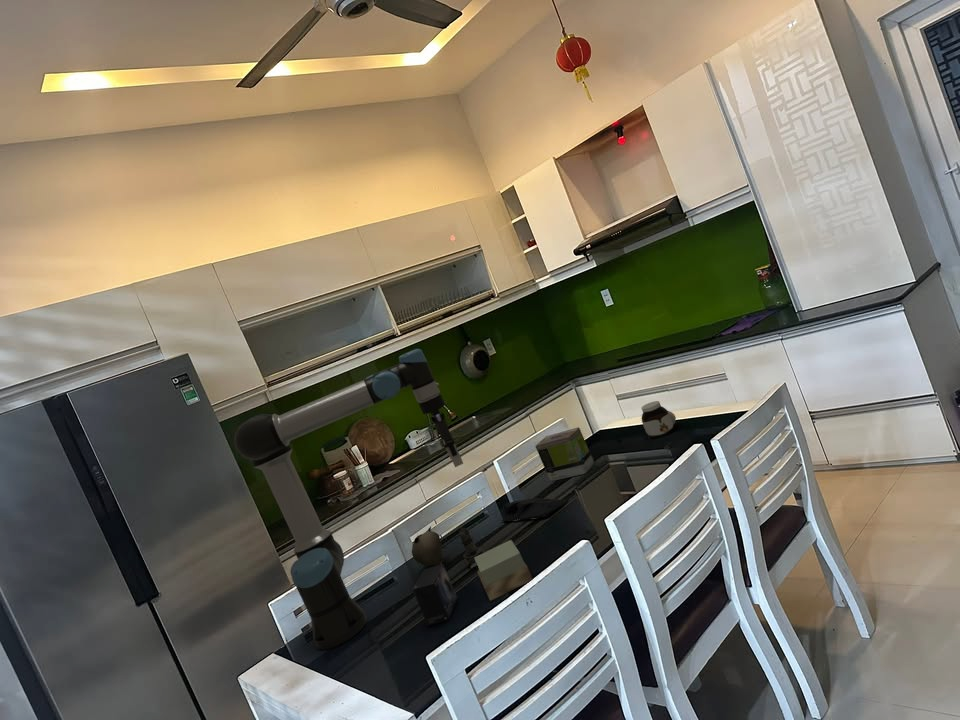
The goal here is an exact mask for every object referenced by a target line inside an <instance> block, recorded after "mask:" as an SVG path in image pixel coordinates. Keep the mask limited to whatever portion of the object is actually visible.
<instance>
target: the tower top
mask: <svg viewBox="0 0 960 720" xmlns="http://www.w3.org/2000/svg"><path fill="white" fill-rule="evenodd" d="M474 559H475V561H476V563H477V566H478V567H477V568H478V571H479V570H480V573H481V575H482V577H483V579H484V582H485V584H486V586H488V585H490V584H493V583H495V582H497V581H499V580H501V579H503V578H505V577H507V576H509V575H511V574H513V573H515V572H517V571H519V570H521V569H523V568H525V567H526V566H525V564H526V563H525V561H524V559H523V556H522V555H521V552H520V551H519V550H518V548H517V546H516V545H515V543H514V542H513V540H512V539H510V540H507V541H506V542H504V543H502V544H499V545H497V546H495V547H493V548H491V549H488V550H487V551H485V552H482V554H481V555H479V556H476V557H474ZM524 563H525V564H524Z"/></svg>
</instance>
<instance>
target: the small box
mask: <svg viewBox="0 0 960 720" xmlns="http://www.w3.org/2000/svg"><path fill="white" fill-rule="evenodd" d="M427 568H428V567H427ZM427 568H425V569H422V571H421V573H420V575H419V577H418V579H417V580H416V582H415V584H414V586H413V588H412V592H413V595H414V596H415V597H414V598H415V599H416V601H417V604H418V606H419V609H420V610H421V613H422V616H423V617H424V620H425V623H426V625H427V626H432V625H435V624H439V623H442V622H447V621H449V620H450V618H451V615H452V613H453V611H454V608H455V606H456V603H457V602H458V600H459V598H458V596H457V593H456V591H455V589H454V586H453V584H452V582H451V579H450V577H449V575H448V572H447V569H446V567H445V565H444V563H443V564H442V565H438V566H435V567H432V568H428V569H427ZM456 601H457V602H456Z"/></svg>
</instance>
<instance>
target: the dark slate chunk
mask: <svg viewBox="0 0 960 720" xmlns="http://www.w3.org/2000/svg"><path fill="white" fill-rule="evenodd" d="M568 502H569V499H568V498H564V499H563V498H561V499H560V498H559V499H552V498H538V497H537V498H528V499H522V500H514V501H511V502H507V503H504V505H503V506H504V514H505V517H504V518H503V519H502V520H501V521H508V520H517V519H518V520H519V519H520V520H522V519H531V518H541V519H543V518H542V517H545V518H546V516H547V517H548V516H549V515H551V514H552V513H553V512H555V511H557V510H559V509H560V508H562V507H563V506H566V504H567V503H568ZM515 513H516V515H515V516H513V515H514V514H515ZM511 516H513V517H512V518H510V517H511ZM522 521H523V520H522Z"/></svg>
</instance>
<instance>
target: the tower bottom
mask: <svg viewBox="0 0 960 720" xmlns="http://www.w3.org/2000/svg"><path fill="white" fill-rule="evenodd" d="M524 564H525V566H526V567H525V568H523V569H521V570H519V571H517V572H515V573H513V574H511V575H509V576H507V577H505V578H503V579H501V580H499V581H497V582H495V583H493V584H490V585H488V586H486V584H485V582H484V579H483V577H482V575H481V573H480V570H479V569H478V570H477V571H476V572H477V575H478V577H479V579H480V581H481V583H482V585H483V588H484V590H485V592H486V594H487V598H488V599H489V601H490V602H491V601H493V600H495V599H497V598H499V597H502V596H504V595H505V594H508V593H509V592H511V591H513V590H515V589H517V588H519V587H521V586H523V585H526V584H527V583H529V582H531V581H533V580H534V578H533V576H532V574H531V571H530V570H529V567H528V565H527V564H526V562H524ZM532 579H533V580H532ZM530 580H531V581H530Z"/></svg>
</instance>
